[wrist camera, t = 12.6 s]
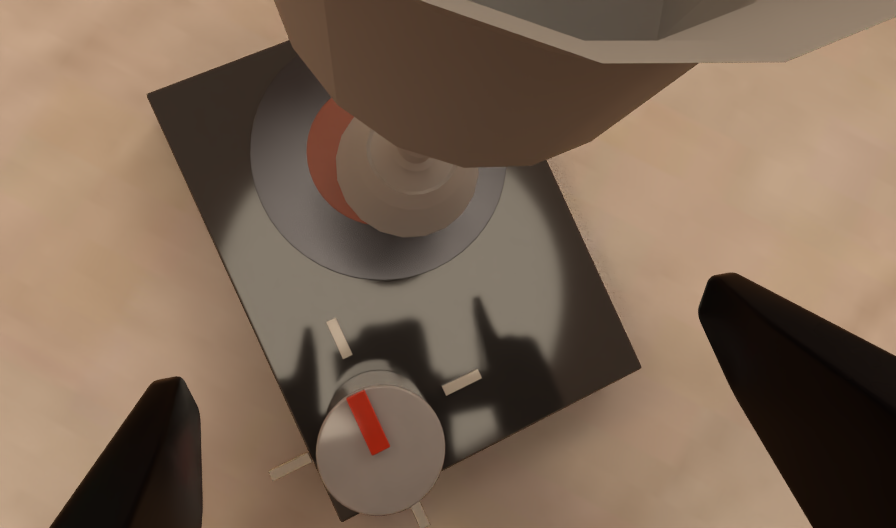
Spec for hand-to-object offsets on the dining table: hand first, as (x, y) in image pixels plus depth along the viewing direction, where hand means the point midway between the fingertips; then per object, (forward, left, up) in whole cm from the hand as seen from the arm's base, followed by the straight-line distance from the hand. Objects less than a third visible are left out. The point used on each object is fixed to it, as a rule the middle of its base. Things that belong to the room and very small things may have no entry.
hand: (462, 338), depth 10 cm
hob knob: (-3, +2, -11) cm, 12 cm away
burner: (+6, -2, -11) cm, 13 cm away
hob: (+3, -1, -13) cm, 14 cm away
